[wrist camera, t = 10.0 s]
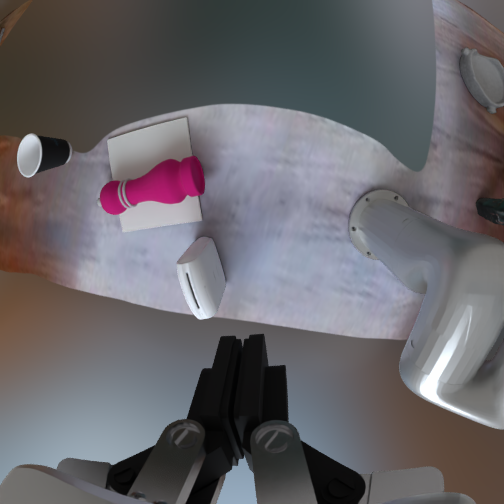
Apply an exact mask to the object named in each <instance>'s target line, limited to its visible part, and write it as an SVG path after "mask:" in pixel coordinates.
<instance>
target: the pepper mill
mask: <svg viewBox="0 0 504 504" xmlns="http://www.w3.org/2000/svg"><path fill="white" fill-rule="evenodd" d="M204 190H205V179H204V173H203V169H202V166H201V164H200V162H199V160H198V158H197V157H195V156H190V157H186V158H183V159H182V161H181V162H179V161H177V160H175V159H168V160H165V161H162V162H161V163H159V164H157V165H156V166H155V167H154V168H152V169H151V170H150V171H149V172H148V173H146V174H145V175H143V176H142V177H139V178H137V179H134V180H132V179H130V178H128V179H126V180H122V181H118V180H114V181H111V182H109V183H107V184H106V185H105V186H104V187H103V188H102V190H101V193H100V198H99V199H98V200H97V204H98V205H99V206H100V207H103V209H104V210H105V211H106V212H107V213H109V214H113V215H117V214H121V213H123V212H124V211H125V210H126V209H127V208H132V207H136V206H137V204H138V203H140V202H145V201H155V202H160V203H164V204H177V203H180V202H182V201H183V200H184V199H185V198H186V196H187V195H189V196H190V197H194V196H199V195H202V194H203V193H204Z"/></svg>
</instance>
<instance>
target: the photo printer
mask: <svg viewBox="0 0 504 504" xmlns="http://www.w3.org/2000/svg"><path fill="white" fill-rule="evenodd" d="M177 273H178V277H179V281H180V285H181V288H182V291H183V294H184V296H185V299H186V301H187V303H188V305H189V307H190V309H191V311H192V312H193V314H194V315H195V316H196V317H197V318H198V319H205V318H210V317H212V316H213V315H215V314H216V313H217V311H218V308H219V306H220V303H221V299H222V296H223V293H224V290H225V287H226V281H225V276H224V272H223V269H222V265H221V262H220V258H219V255H218V252H217V249H216V246H215V244H214V241H213V239H212V238H209V237H200V238H198V239H197V240H196V242H193V243H192V244H191V245H190V247H189V248H188V249H187V250H186V251H185V253H184V254H183V255H182V256H181V257H180V259H179V260H178V261H177Z"/></svg>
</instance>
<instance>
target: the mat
mask: <svg viewBox="0 0 504 504" xmlns="http://www.w3.org/2000/svg"><path fill="white" fill-rule="evenodd" d="M107 143H108V151H109V159H110V166H111V172H112V178H113V181H114V180H118V181H122V180H126V179H128V178H130V179H132V180H134V179H137V178H139V177H142V176H143V175H145V174H146V173H148V172H149V171H150V170H151V169H152V168H154V167H155V166H156V165H157V164H159V163H161V162H162V161H165V160H168V159H175V160H177V161H179V162H181V161H182V159H183V158H186V157H190V156H192V149H191V142H190V134H189V127H188V119H187V117H186V118H181V119H177V120H173V121H169V122H165V123H161V124H157V125H153V126H150V127H146V128H143V129H139V130H136V131H133V132H130V133H126V134H123V135H120V136H117V137H114V138H111V139H108V140H107ZM119 216H120V221H121V225H122V230H123V232H129V231H135V230H141V229H148V228H154V227H161V226H168V225H175V224H182V223H189V222H196V221H202V220H203V219H202V213H201V207H200V201H199V196H194V197H190V196H189V195H187V196H186V198H185V199H184V200H183V201H182V202H180V203H177V204H164V203H160V202H155V201H145V202H140V203H138V204H137V206H136V207H132V208H127V209H126V210H125V211H124V212H123V213H121V214H119Z"/></svg>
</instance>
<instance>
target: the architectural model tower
mask: <svg viewBox="0 0 504 504" xmlns="http://www.w3.org/2000/svg"><path fill="white" fill-rule="evenodd" d="M4 30H5V29H4V28H0V41H1V38H2V35H3V32H4Z"/></svg>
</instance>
